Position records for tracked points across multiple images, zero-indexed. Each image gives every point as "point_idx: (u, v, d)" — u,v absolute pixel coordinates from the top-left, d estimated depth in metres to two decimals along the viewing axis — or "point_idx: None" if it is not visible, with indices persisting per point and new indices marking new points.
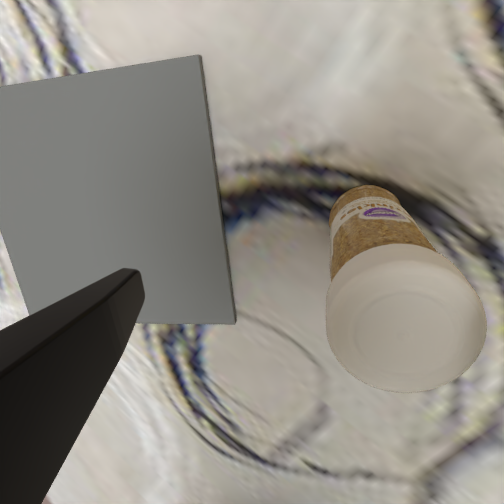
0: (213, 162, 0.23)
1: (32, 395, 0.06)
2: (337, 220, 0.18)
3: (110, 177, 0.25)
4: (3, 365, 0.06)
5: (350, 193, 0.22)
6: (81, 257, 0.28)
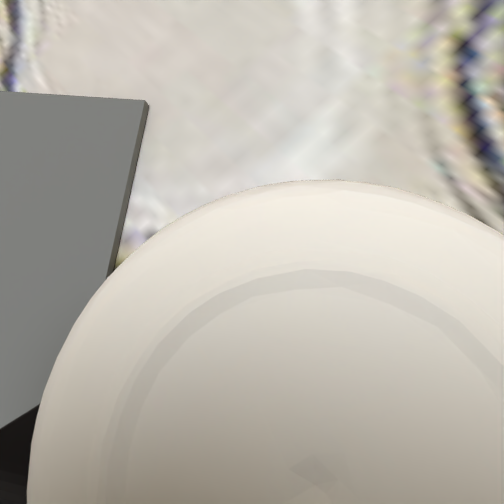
0: (120, 220, 0.17)
1: None
2: None
3: None
4: None
5: None
6: None
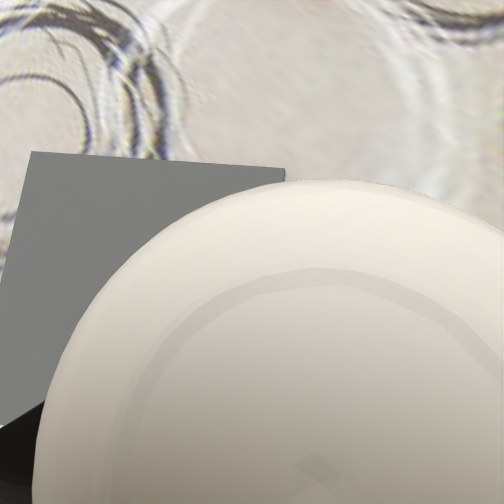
0: None
1: None
2: None
3: None
4: None
5: None
6: None
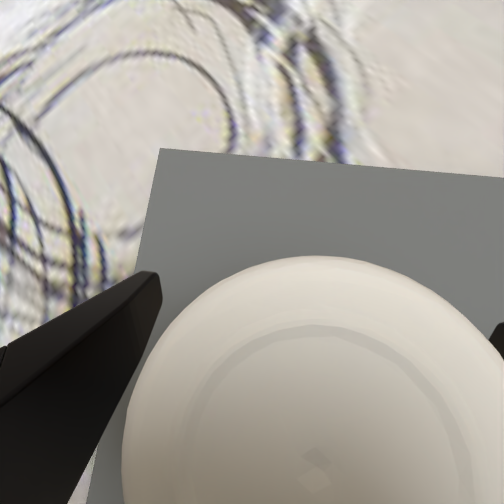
0: None
1: (58, 400, 0.06)
2: None
3: None
4: (30, 371, 0.06)
5: None
6: None
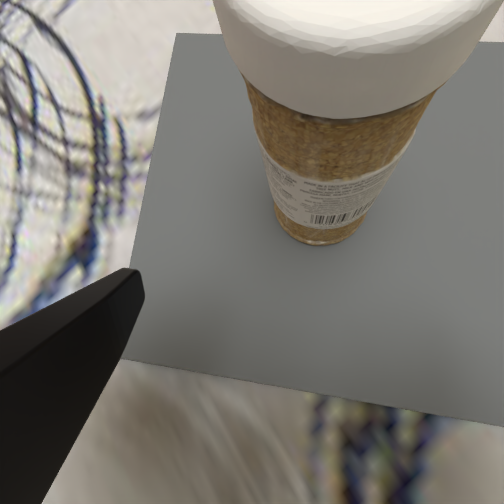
0: None
1: (32, 395, 0.06)
2: None
3: None
4: (3, 365, 0.06)
5: None
6: (258, 260, 0.18)
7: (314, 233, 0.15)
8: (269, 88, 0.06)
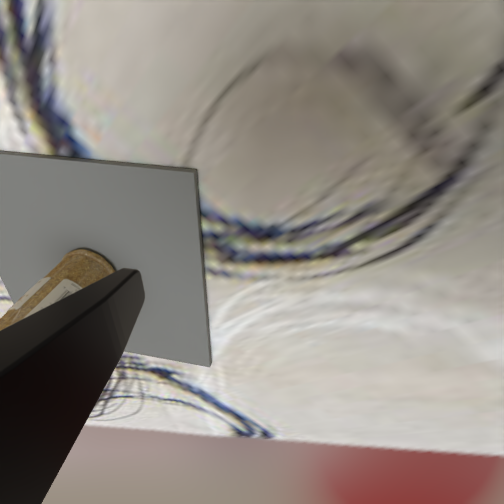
0: (20, 154, 0.23)
1: (32, 395, 0.06)
2: None
3: (57, 251, 0.27)
4: (3, 365, 0.06)
5: None
6: None
7: None
8: None
